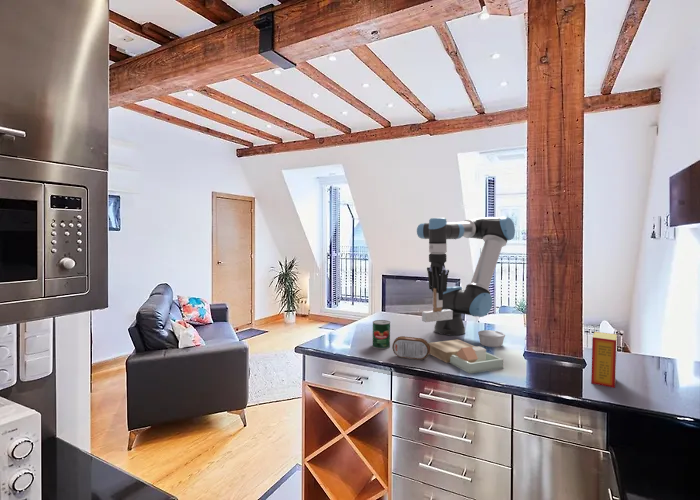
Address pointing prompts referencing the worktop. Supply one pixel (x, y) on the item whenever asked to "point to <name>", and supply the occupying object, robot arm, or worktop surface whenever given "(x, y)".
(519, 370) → the worktop surface
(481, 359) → the cream block
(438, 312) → the scraper
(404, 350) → the tin
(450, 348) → the tan flat block
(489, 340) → the ramekin
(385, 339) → the canned tomato
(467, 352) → the terracotta block
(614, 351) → the baking soda box
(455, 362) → the box
